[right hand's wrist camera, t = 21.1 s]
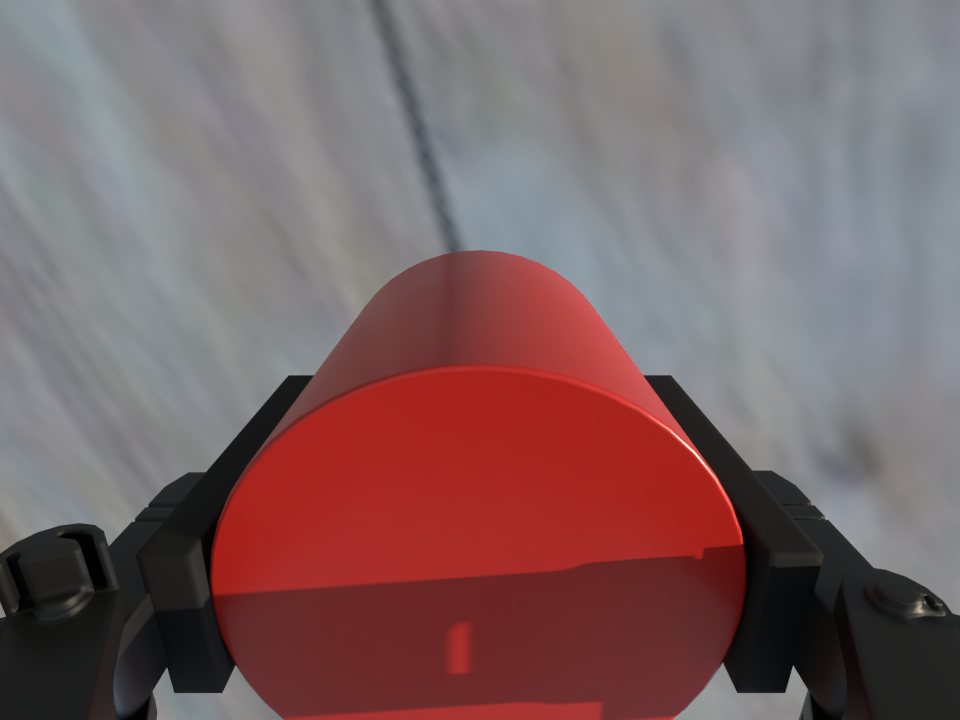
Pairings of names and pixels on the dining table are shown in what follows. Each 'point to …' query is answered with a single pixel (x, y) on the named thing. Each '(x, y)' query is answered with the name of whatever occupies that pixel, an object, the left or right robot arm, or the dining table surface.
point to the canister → (478, 519)
